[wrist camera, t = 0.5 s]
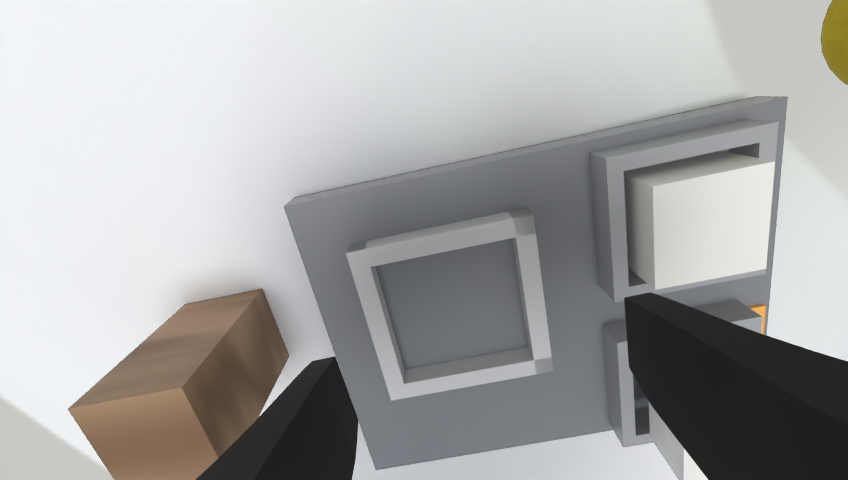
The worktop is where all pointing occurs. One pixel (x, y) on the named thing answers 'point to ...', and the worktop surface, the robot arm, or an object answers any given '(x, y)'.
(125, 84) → the worktop surface
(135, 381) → the block
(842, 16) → the lemon
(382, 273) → the breaker panel
